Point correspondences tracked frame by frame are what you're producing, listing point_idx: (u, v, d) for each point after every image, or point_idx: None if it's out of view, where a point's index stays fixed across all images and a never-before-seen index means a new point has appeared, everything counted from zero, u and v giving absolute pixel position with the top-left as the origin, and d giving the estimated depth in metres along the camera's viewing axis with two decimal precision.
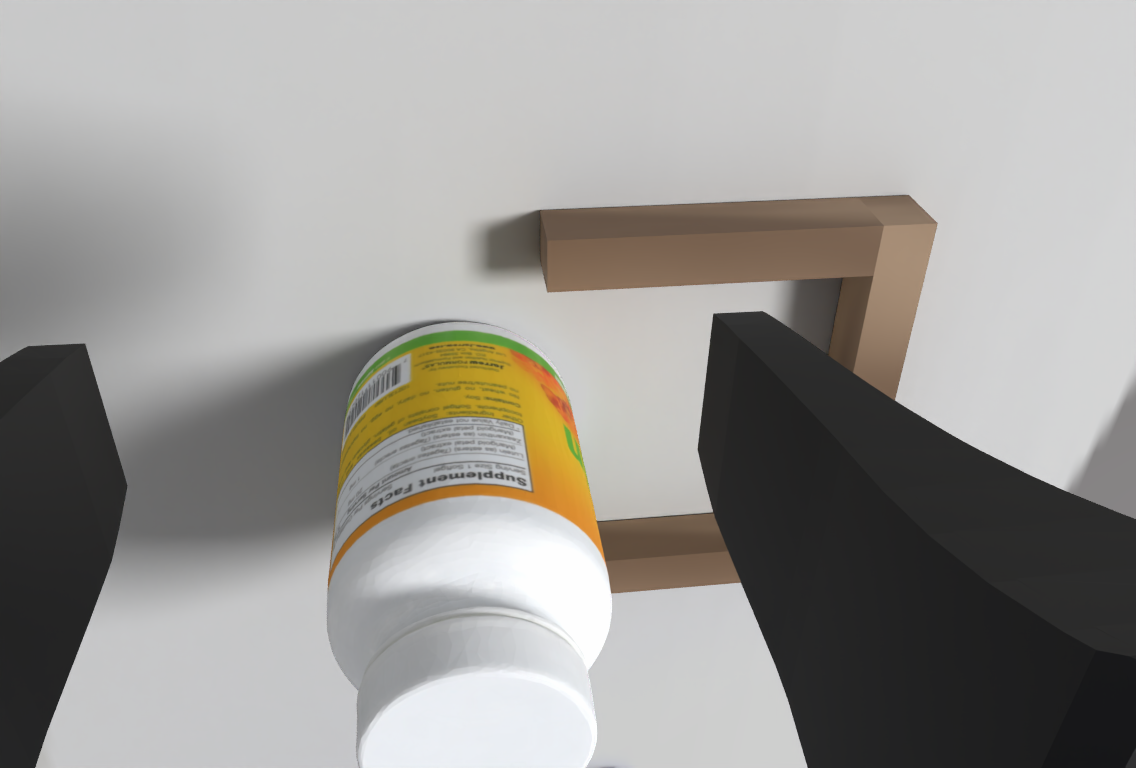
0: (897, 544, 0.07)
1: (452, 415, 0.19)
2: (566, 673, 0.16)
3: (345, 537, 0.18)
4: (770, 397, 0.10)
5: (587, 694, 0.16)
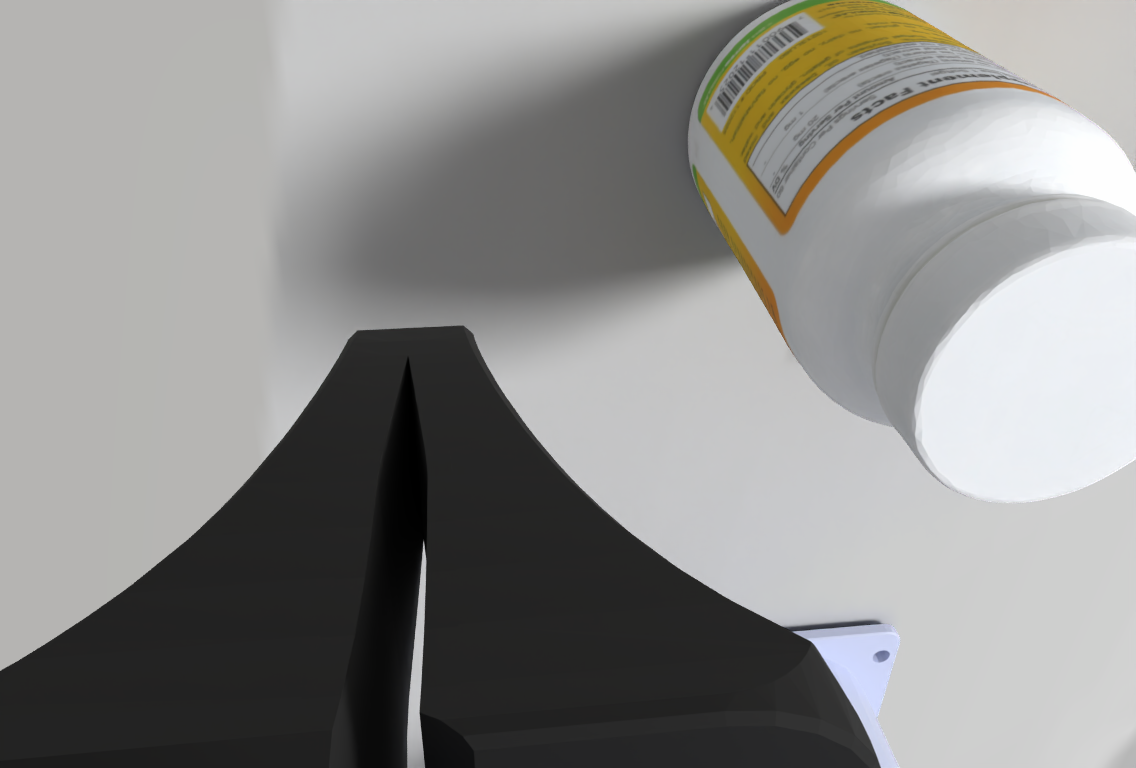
0: None
1: (910, 40, 0.16)
2: None
3: (813, 162, 0.14)
4: (417, 417, 0.09)
5: None
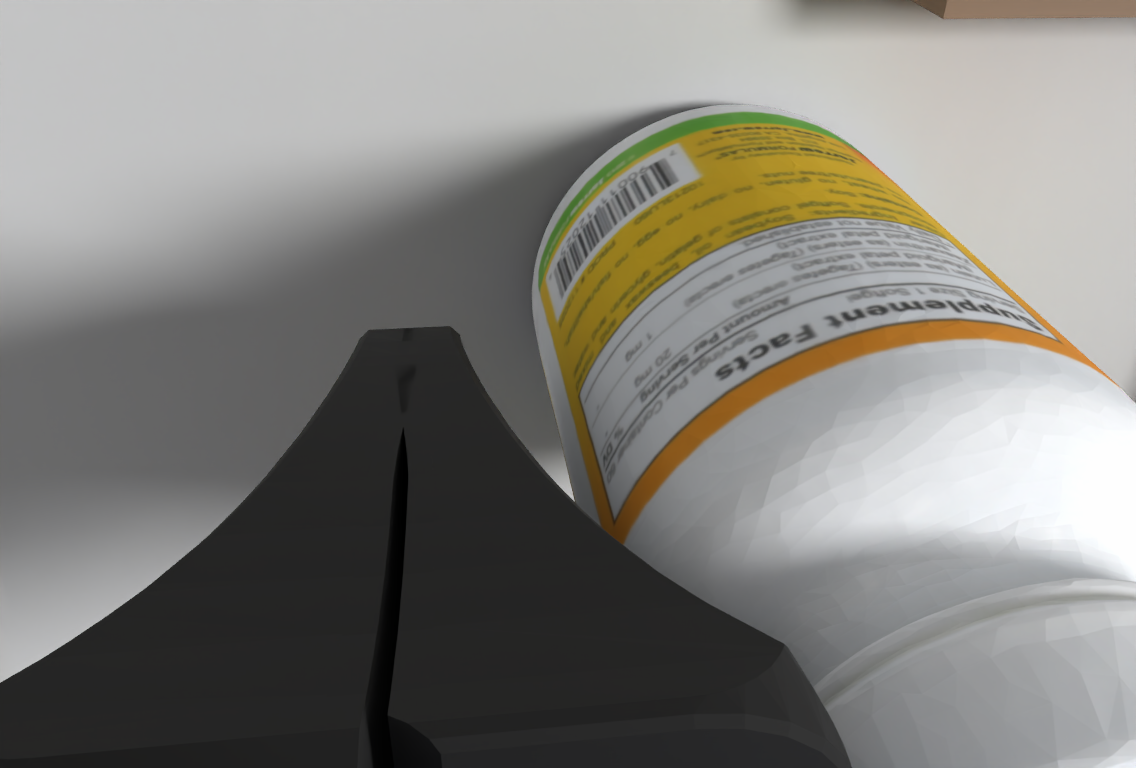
0: None
1: (823, 215, 0.10)
2: None
3: (656, 443, 0.09)
4: None
5: None
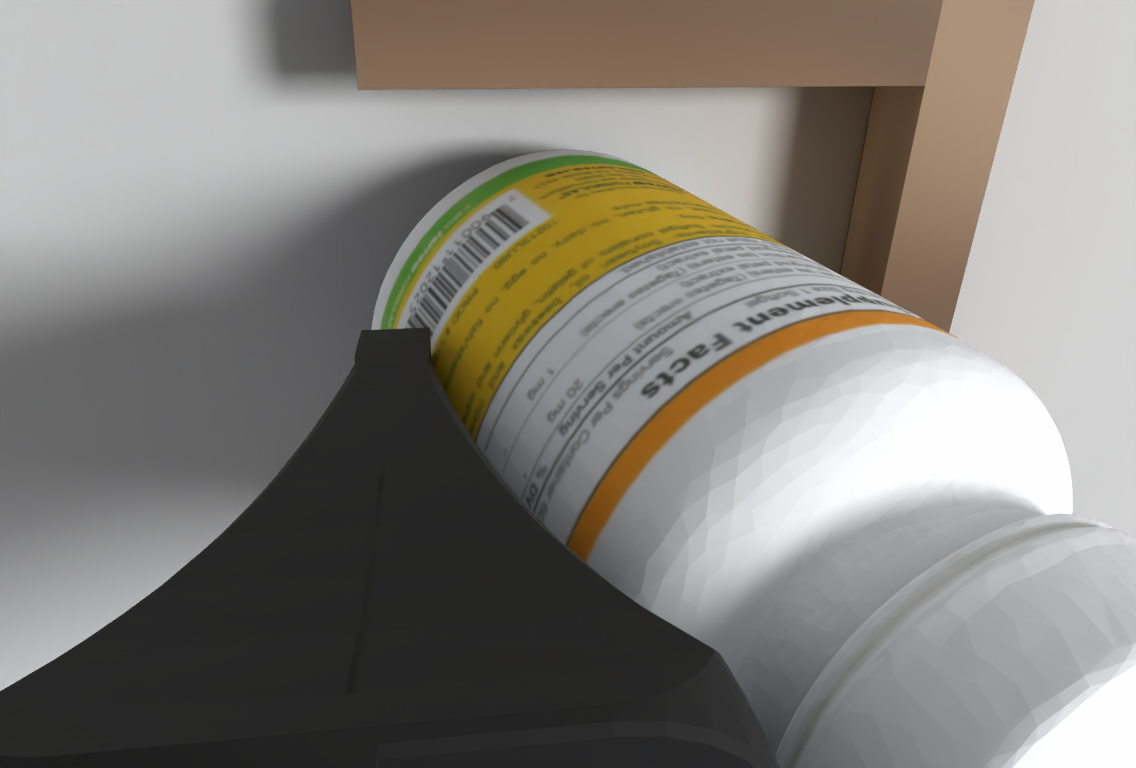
0: None
1: (687, 238, 0.10)
2: None
3: (594, 471, 0.08)
4: None
5: None
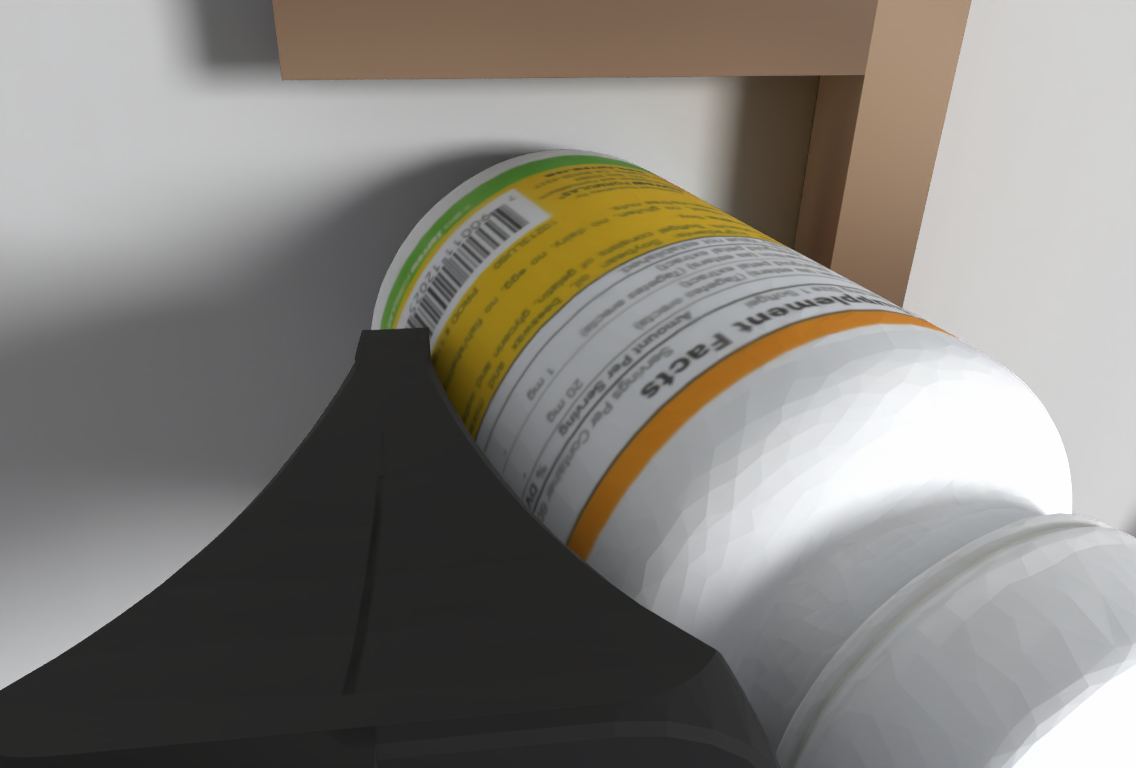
0: None
1: (687, 238, 0.10)
2: None
3: (594, 471, 0.09)
4: None
5: None
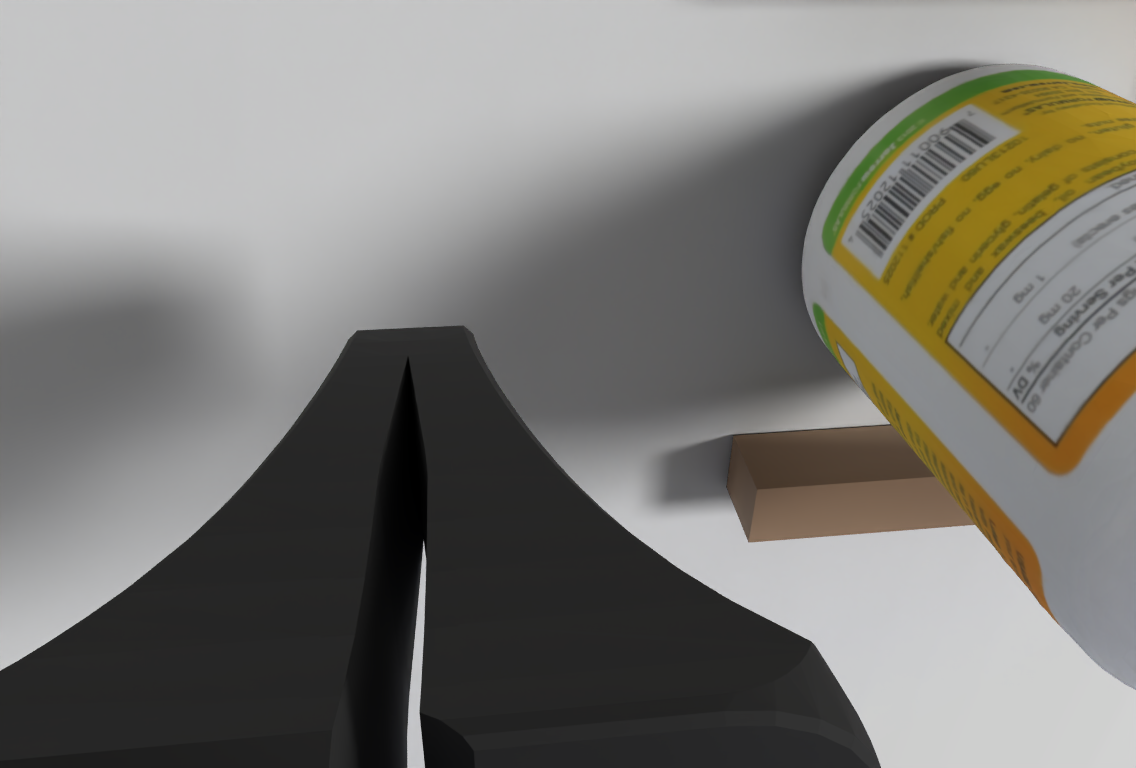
0: None
1: None
2: None
3: (1099, 369, 0.10)
4: (417, 418, 0.09)
5: None
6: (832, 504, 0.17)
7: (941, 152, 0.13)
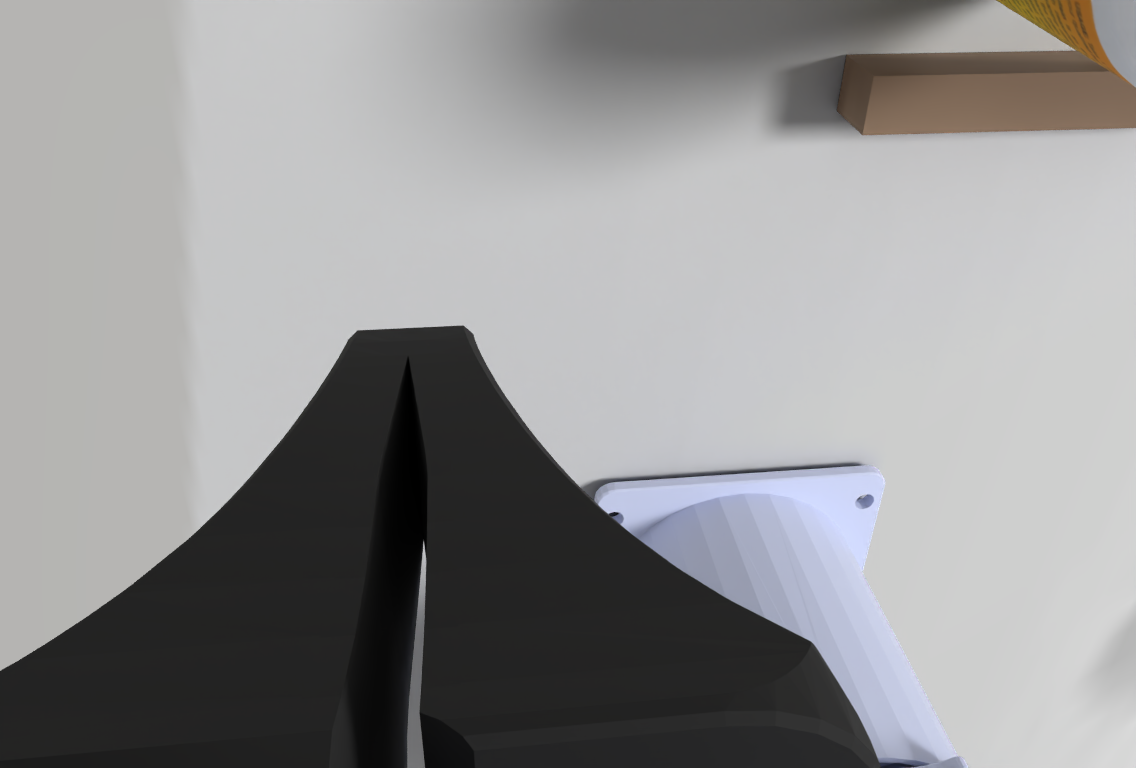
0: None
1: None
2: None
3: None
4: (416, 417, 0.09)
5: None
6: (935, 97, 0.20)
7: None
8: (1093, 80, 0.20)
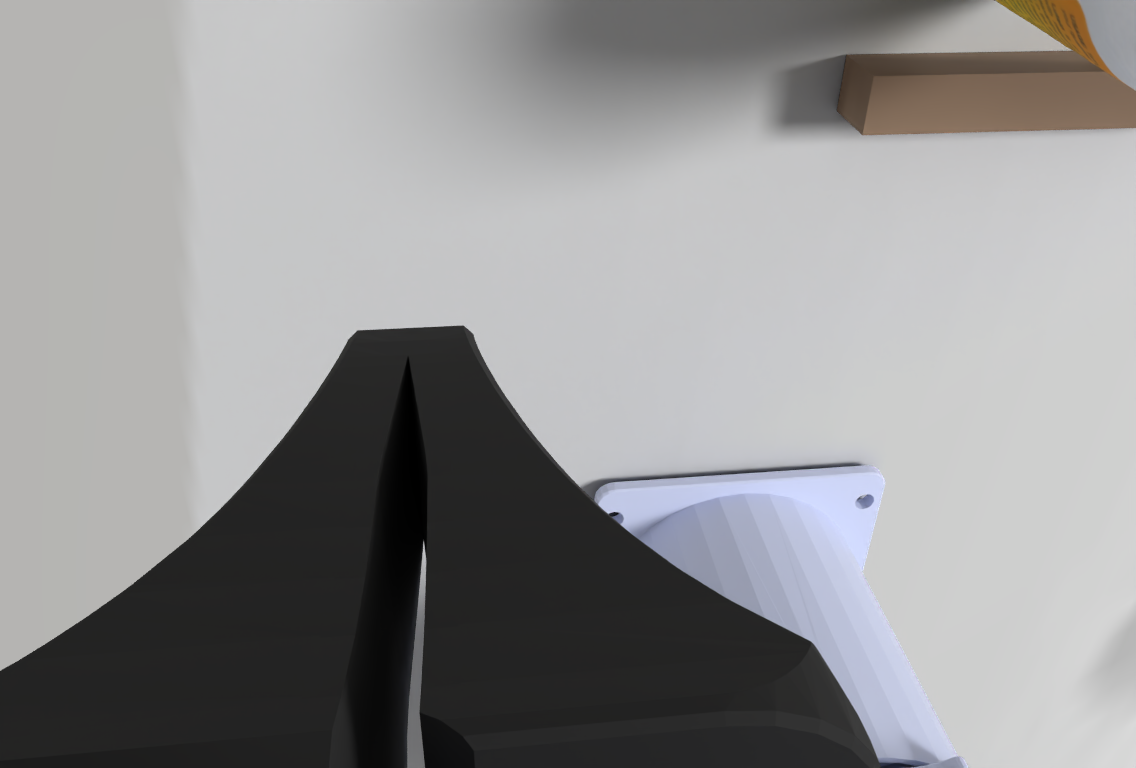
0: None
1: None
2: None
3: None
4: (416, 417, 0.09)
5: None
6: (935, 97, 0.20)
7: None
8: (1093, 80, 0.20)
